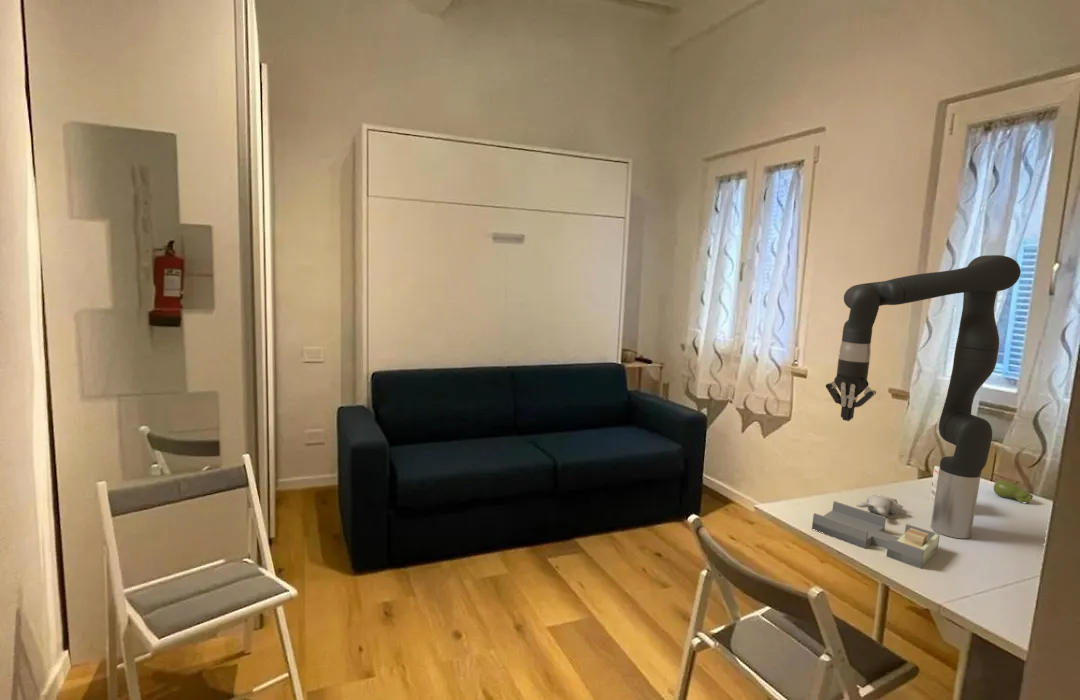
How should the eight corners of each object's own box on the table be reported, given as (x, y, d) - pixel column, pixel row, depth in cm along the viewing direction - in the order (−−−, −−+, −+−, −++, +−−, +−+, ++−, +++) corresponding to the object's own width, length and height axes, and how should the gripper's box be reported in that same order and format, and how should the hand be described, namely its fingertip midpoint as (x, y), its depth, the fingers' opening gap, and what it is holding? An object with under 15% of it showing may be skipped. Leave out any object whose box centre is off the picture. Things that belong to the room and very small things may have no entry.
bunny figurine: (909, 500, 176) (889, 506, 166) (906, 516, 176) (886, 523, 166) (875, 489, 183) (854, 494, 173) (872, 505, 183) (851, 511, 174)
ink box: (959, 514, 176) (965, 476, 175) (940, 512, 177) (946, 474, 176) (945, 503, 185) (951, 466, 183) (928, 501, 186) (933, 465, 184)
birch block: (908, 542, 152) (910, 528, 152) (926, 548, 149) (928, 533, 149) (903, 547, 150) (905, 532, 149) (921, 553, 147) (923, 538, 146)
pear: (999, 476, 195) (1037, 490, 188) (993, 490, 196) (1030, 505, 189) (995, 479, 191) (1033, 494, 184) (989, 494, 192) (1026, 509, 185)
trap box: (832, 516, 172) (834, 501, 171) (937, 550, 153) (939, 534, 152) (811, 529, 162) (813, 513, 161) (920, 568, 143) (923, 550, 143)
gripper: (885, 361, 160) (877, 423, 163) (834, 353, 170) (827, 412, 173) (875, 363, 155) (867, 428, 158) (823, 356, 165) (816, 416, 168)
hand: (846, 420), depth 165 cm, fingers closed
